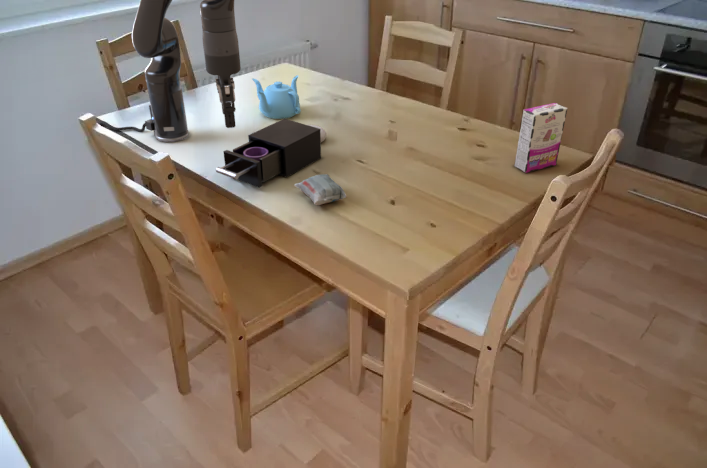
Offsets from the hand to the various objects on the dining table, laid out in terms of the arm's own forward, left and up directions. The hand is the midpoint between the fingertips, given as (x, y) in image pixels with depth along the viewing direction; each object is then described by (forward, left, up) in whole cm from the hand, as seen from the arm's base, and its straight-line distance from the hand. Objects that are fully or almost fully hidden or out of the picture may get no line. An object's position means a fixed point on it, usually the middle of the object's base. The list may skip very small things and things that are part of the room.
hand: (229, 120), depth 136 cm
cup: (0, +8, -16) cm, 18 cm away
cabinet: (0, +19, -18) cm, 27 cm away
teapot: (-26, +45, -18) cm, 55 cm away
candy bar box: (+56, +57, -18) cm, 82 cm away
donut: (-4, +34, -18) cm, 39 cm away
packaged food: (+20, +8, -18) cm, 28 cm away
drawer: (0, +6, -17) cm, 18 cm away
